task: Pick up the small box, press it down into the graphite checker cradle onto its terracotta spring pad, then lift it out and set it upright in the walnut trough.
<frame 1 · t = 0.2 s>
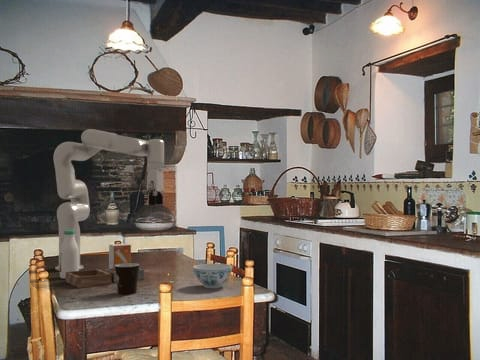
hand: (155, 204, 224), 31 cm above the table, tool pointing down, fingers open, 9 cm apart
milk bottle: (69, 277, 212), on the table
checker cradle: (123, 279, 207), on the table
spring pad: (123, 273, 207), point 2 cm above the table, slide at 0.2 cm
chinaware: (212, 287, 190), on the table
walnut trough: (88, 283, 198), on the table
small box: (119, 274, 221), on the table
coffee mug: (126, 294, 177), on the table
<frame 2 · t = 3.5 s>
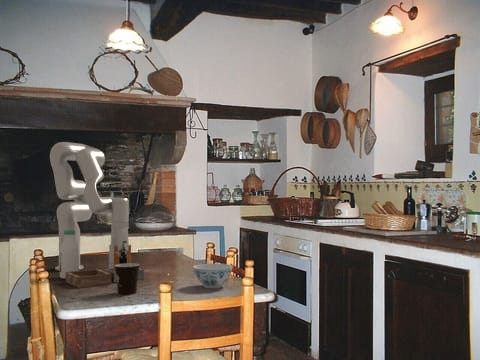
hand: (120, 265, 221), 4 cm above the table, tool pointing down, fingers closed on small box, 6 cm apart
small box: (120, 274, 221), on the table, touching gripper
everything else where it was.
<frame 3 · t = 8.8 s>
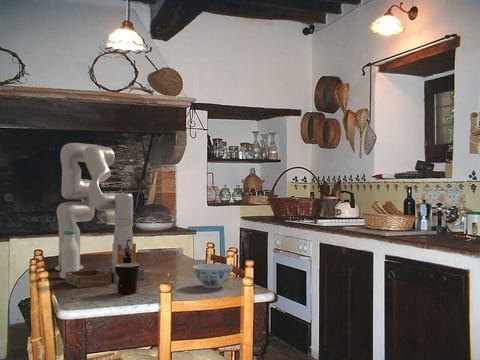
hand: (123, 265, 207), 6 cm above the table, tool pointing down, fingers closed on small box, 6 cm apart
spring pad: (123, 275, 207), point 1 cm above the table, slide at 1.0 cm, touching small box
small box: (123, 274, 207), point 2 cm above the table, touching gripper, spring pad
everything else where it was.
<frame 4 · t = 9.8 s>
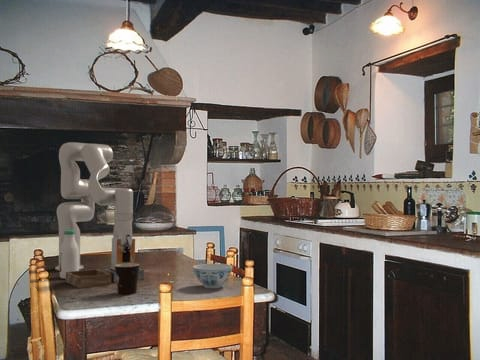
hand: (122, 260, 208), 8 cm above the table, tool pointing down, fingers closed on small box, 6 cm apart
spring pad: (123, 273, 207), point 2 cm above the table, slide at 0.3 cm
small box: (122, 269, 208), point 4 cm above the table, touching gripper
everything else where it was.
when the fingers open (5 cm above the table, at t = 15.4 s): small box stays where it is, resting on walnut trough.
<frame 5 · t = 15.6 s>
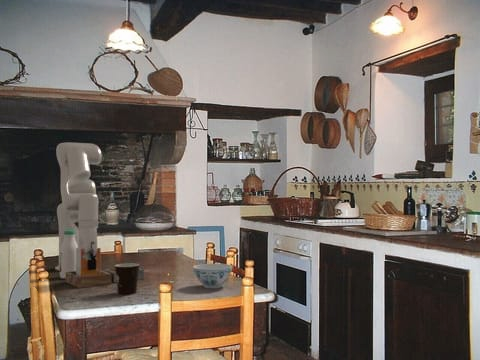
hand: (88, 268, 199), 6 cm above the table, tool pointing down, fingers open, 8 cm apart
small box: (88, 280, 199), point 1 cm above the table, touching walnut trough
everything else where it was.
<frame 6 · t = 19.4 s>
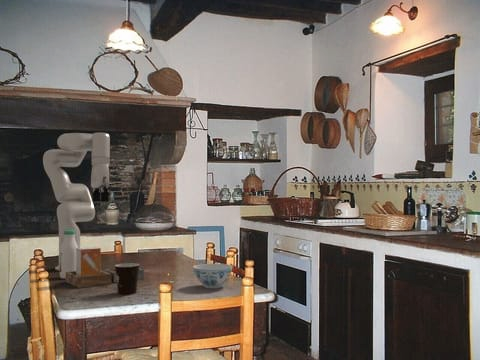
hand: (100, 201, 213), 32 cm above the table, tool pointing down, fingers open, 9 cm apart
nothing on the table moved.
at the end: small box inside the target area on the walnut trough (0.1 cm from its centre), point 0.8 cm above the walnut trough's base; small box tilted 0°; the gripper is holding nothing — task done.
